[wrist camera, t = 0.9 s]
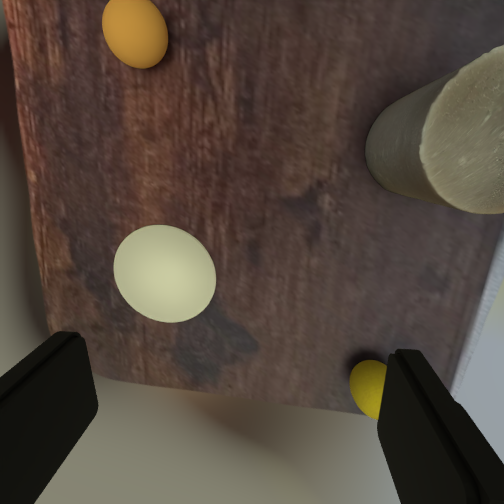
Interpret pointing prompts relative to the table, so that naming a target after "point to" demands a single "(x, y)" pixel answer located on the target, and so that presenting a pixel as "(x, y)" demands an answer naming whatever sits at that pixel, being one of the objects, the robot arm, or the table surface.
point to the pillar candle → (446, 139)
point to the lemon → (368, 386)
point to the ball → (135, 32)
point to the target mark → (164, 273)
